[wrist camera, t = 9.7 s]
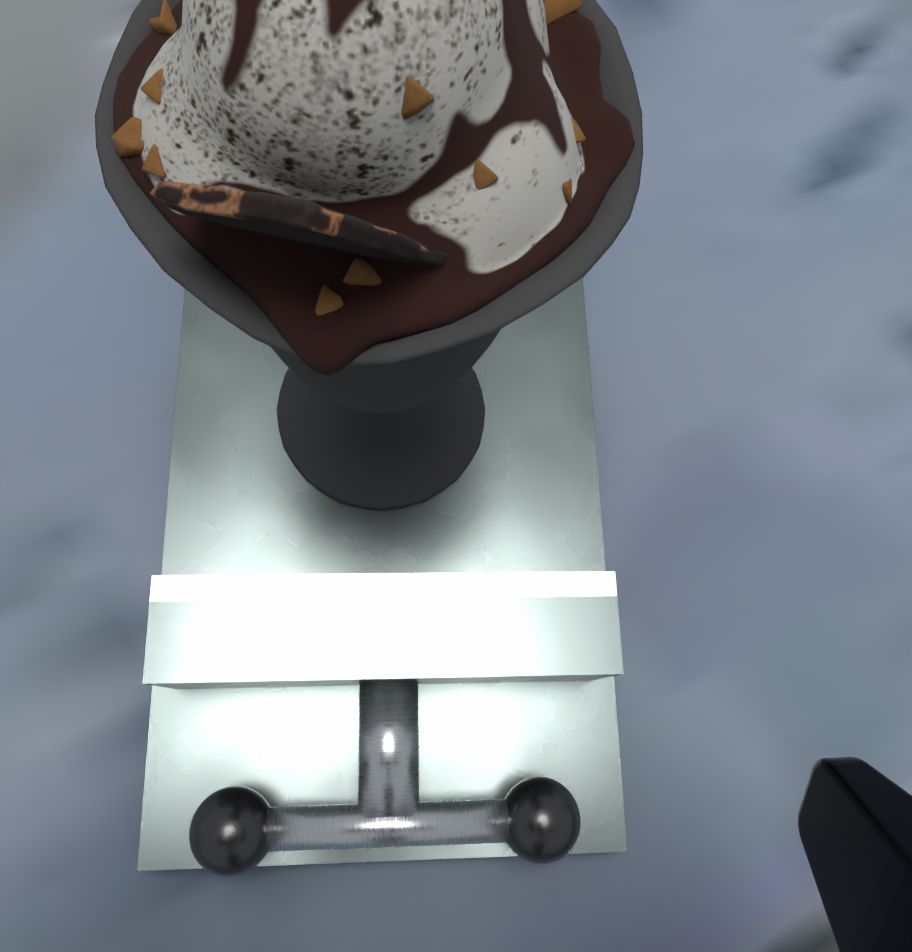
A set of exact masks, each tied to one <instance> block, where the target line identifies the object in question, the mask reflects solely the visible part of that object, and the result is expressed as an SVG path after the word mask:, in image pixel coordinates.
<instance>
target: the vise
mask: <svg viewBox="0 0 912 952" xmlns="http://www.w3.org/2000/svg"><path fill="white" fill-rule="evenodd" d="M472 368H473V369H474V371H475V372H476V375H477V378H478V381H479V384H480V387H481V390H482V394H483V399H484V405H485V419H484V429H483V433H482V437H481V442H480V446H479V448H478V450H477V452H476V453H475V455H474V457H473V459H472V460H471V462H470V464H469V465H468V467H467V468H466V469H465V471H464V472H463V473H462V475H461V476H460V477H459V479H458V480H456V481H455V482H454V483H452V484H451V485H450V486H448V487H447V488H446V489H445V490H443V491H442V492H440V493H438V494H437V495H435V496H433V497H432V498H430V499H428V500H426V501H425V502H422V503H418V504H414V505H411V506H407V507H403V508H396V509H389V510H376V509H367V508H360V507H356V506H352V505H348V504H344V503H341V502H339V501H337V500H335V499H333V498H331V497H330V496H328V495H326V494H324V493H322V492H321V491H320V490H318V489H317V488H316V487H314V486H313V485H311V484H310V483H309V482H307V481H306V480H305V479H304V477H303V476H302V475H301V474H300V472H299V471H298V470H297V469H296V467H295V466H294V465H293V463H292V461H291V460H290V458H289V456H288V455H287V453H286V451H285V450H284V448H283V444H282V440H281V436H280V432H279V428H278V419H277V411H276V409H277V404H278V398H279V392H280V389H281V385H282V382H283V379H284V376H285V373H286V371H287V370H288V367H287V366H286V364H285V363H284V362H283V361H282V360H281V359H280V358H279V356H278V355H277V354H276V353H275V352H274V350H273V349H272V348H271V347H270V346H269V345H267V344H264V343H262V342H260V341H257V340H255V339H253V338H252V337H250V336H249V335H247V334H246V333H244V332H243V331H241V330H240V329H239V328H237V327H236V326H234V325H233V324H231V323H230V322H228V321H227V320H225V319H224V318H222V317H221V316H219V315H218V314H217V313H215V312H214V311H212V310H211V309H209V308H208V307H207V306H206V305H204V304H203V303H202V302H201V301H200V300H198V299H197V298H196V297H195V296H193V295H192V294H191V293H190V292H189V291H187V290H186V289H185V293H184V305H183V317H182V329H181V342H180V354H179V366H178V378H177V391H176V403H175V415H174V427H173V439H172V452H171V464H170V476H169V488H168V500H167V513H166V525H165V537H164V549H163V562H162V574H161V575H152V580H151V591H150V603H149V615H148V627H147V638H146V650H145V662H144V673H143V684H147V685H152V696H151V708H150V720H149V733H148V745H147V757H146V769H145V781H144V794H143V806H142V818H141V830H140V842H139V855H138V867H137V871H151V870H176V869H201V868H204V869H206V870H207V871H209V872H211V873H213V874H216V875H219V876H236V875H240V874H243V873H245V872H247V871H249V870H251V869H252V868H254V867H255V866H278V865H303V864H328V863H354V862H379V861H405V860H430V859H455V858H481V857H506V856H519V857H521V858H523V859H525V860H527V861H529V862H532V863H537V864H546V863H551V862H554V861H557V860H559V859H561V858H562V857H564V856H565V855H566V854H582V853H608V852H627V839H626V826H625V813H624V800H623V788H622V775H621V762H620V749H619V736H618V723H617V711H616V698H615V685H614V676H617V675H621V674H623V662H622V650H621V638H620V625H619V613H618V601H617V588H616V576H615V571H606V569H605V557H604V544H603V531H602V518H601V505H600V492H599V480H598V467H597V454H596V441H595V428H594V415H593V403H592V390H591V377H590V364H589V351H588V338H587V326H586V313H585V300H584V287H583V278H581V279H580V280H578V281H577V282H575V283H574V284H572V285H571V286H570V287H568V288H567V289H565V290H564V291H562V292H561V293H559V294H558V295H557V296H555V297H554V298H552V299H551V300H549V301H548V302H546V303H545V304H543V305H542V306H540V307H538V308H537V309H535V310H533V311H531V312H530V313H528V314H526V315H524V316H523V317H521V318H519V319H517V320H515V321H514V322H512V323H510V324H508V325H507V326H505V327H503V328H501V330H500V331H499V333H498V335H497V336H496V338H495V339H494V341H493V342H492V343H491V345H490V346H489V348H488V349H487V350H486V351H485V352H484V354H483V355H482V356H481V357H480V358H479V360H478V361H477V362H476V363H475V364H474V366H473V367H472Z"/></svg>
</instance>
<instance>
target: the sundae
mask: <svg viewBox="0 0 912 952" xmlns="http://www.w3.org/2000/svg"><path fill="white" fill-rule="evenodd" d="M95 130H96V148H97V152H98V157H99V161H100V166H101V170H102V174H103V179H104V183H105V187H106V189H107V190H108V192H109V194H110V195H111V197H112V199H113V200H114V202H115V204H116V205H117V207H118V209H119V211H120V212H121V214H122V216H123V217H124V219H125V221H126V222H127V224H128V226H129V227H130V229H131V230H132V231H133V233H134V234H135V235H136V236H137V238H138V239H139V240H140V241H141V243H142V244H143V245H144V247H145V248H146V249H147V250H148V252H149V253H150V254H151V256H152V257H153V258H154V259H155V261H156V262H157V263H158V264H159V266H160V267H161V268H162V270H163V271H164V272H166V273H167V274H168V275H169V276H170V277H172V278H173V279H174V280H175V281H176V282H178V283H179V284H180V285H181V286H183V287H184V288H185V289H186V290H187V291H189V292H190V293H191V294H192V295H193V296H195V297H196V298H197V299H198V300H200V301H201V302H202V303H203V304H204V305H206V306H207V307H208V308H209V309H211V310H212V311H214V312H215V313H217V314H218V315H219V316H221V317H222V318H224V319H225V320H227V321H228V322H230V323H231V324H233V325H234V326H236V327H237V328H239V329H240V330H241V331H243V332H244V333H246V334H247V335H249V336H250V337H252V338H253V339H255V340H257V341H260V342H262V343H264V344H267V345H269V346H270V347H271V348H272V349H273V350H274V352H275V353H276V354H277V355H278V356H279V358H280V359H281V360H282V361H283V362H284V363H285V364H286V366H287V367H288V370H287V371H286V373H285V376H284V379H283V382H282V385H281V389H280V392H279V398H278V404H277V409H276V411H277V419H278V428H279V432H280V436H281V440H282V444H283V448H284V450H285V451H286V453H287V455H288V456H289V458H290V460H291V461H292V463H293V465H294V466H295V467H296V469H297V470H298V471H299V472H300V474H301V475H302V476H303V477H304V479H305V480H306V481H307V482H309V483H310V484H311V485H313V486H314V487H316V488H317V489H318V490H320V491H321V492H322V493H324V494H326V495H328V496H330V497H331V498H333V499H335V500H337V501H339V502H341V503H344V504H348V505H352V506H356V507H360V508H367V509H376V510H389V509H396V508H403V507H407V506H411V505H414V504H418V503H422V502H425V501H426V500H428V499H430V498H432V497H433V496H435V495H437V494H438V493H440V492H442V491H443V490H445V489H446V488H447V487H448V486H450V485H451V484H452V483H454V482H455V481H456V480H458V479H459V477H460V476H461V475H462V473H463V472H464V471H465V469H466V468H467V467H468V465H469V464H470V462H471V460H472V459H473V457H474V455H475V453H476V452H477V450H478V448H479V446H480V442H481V437H482V433H483V429H484V419H485V405H484V399H483V394H482V390H481V387H480V384H479V381H478V378H477V375H476V372H475V371H474V369H473V368H472V367H473V366H474V364H475V363H476V362H477V361H478V360H479V358H480V357H481V356H482V355H483V354H484V352H485V351H486V350H487V349H488V348H489V346H490V345H491V343H492V342H493V341H494V339H495V338H496V336H497V335H498V333H499V331H500V330H501V328H503V327H505V326H507V325H508V324H510V323H512V322H514V321H515V320H517V319H519V318H521V317H523V316H524V315H526V314H528V313H530V312H531V311H533V310H535V309H537V308H538V307H540V306H542V305H543V304H545V303H546V302H548V301H549V300H551V299H552V298H554V297H555V296H557V295H558V294H559V293H561V292H562V291H564V290H565V289H567V288H568V287H570V286H571V285H572V284H574V283H575V282H577V281H578V280H580V279H581V278H583V277H584V276H585V275H586V274H587V272H588V271H589V270H590V269H591V268H592V267H593V266H594V264H595V263H596V262H597V261H598V260H599V259H600V258H601V257H602V255H603V254H604V253H605V252H606V251H607V250H608V249H609V247H610V246H611V245H612V244H613V242H614V241H615V239H616V238H617V236H618V235H619V233H620V232H621V230H622V229H623V227H624V226H625V224H626V223H627V221H628V220H629V218H630V216H631V213H632V209H633V206H634V203H635V199H636V196H637V193H638V189H639V185H640V176H641V167H642V158H643V135H642V111H641V107H640V102H639V98H638V93H637V89H636V84H635V80H634V76H633V72H632V69H631V66H630V64H629V61H628V58H627V56H626V53H625V50H624V48H623V45H622V42H621V40H620V37H619V34H618V31H617V29H616V27H615V26H614V24H613V23H612V22H611V20H610V19H609V18H608V16H607V15H606V14H605V12H604V11H603V10H602V8H601V7H600V6H599V4H598V3H597V2H596V0H141V2H140V3H139V5H138V6H137V7H136V9H135V10H134V12H133V13H132V15H131V17H130V19H129V22H128V24H127V26H126V28H125V30H124V32H123V35H122V37H121V39H120V41H119V43H118V46H117V48H116V50H115V52H114V55H113V58H112V60H111V63H110V66H109V69H108V71H107V74H106V77H105V80H104V82H103V86H102V89H101V93H100V97H99V101H98V105H97V109H96V113H95Z"/></svg>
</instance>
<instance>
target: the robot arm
mask: <svg viewBox="0 0 912 952" xmlns="http://www.w3.org/2000/svg"><path fill="white" fill-rule="evenodd" d="M798 827H799V833H800V837H801V840H802V843H803V846H804V849H805V852H806V855H807V858H808V861H809V864H810V867H811V870H812V873H813V876H814V879H815V882H816V885H817V887H818V890H819V893H820V896H821V899H822V902H823V905H824V908H825V911H826V914H827V917H828V920H829V923H830V926H831V929H832V932H833V935H834V938H835V941H836V943H837V946H838V949H839V952H912V796H911V795H910V794H909V793H907V792H906V791H905V790H903V789H902V788H900V787H899V786H898V785H896V784H895V783H894V782H892V781H891V780H890V779H888V778H887V777H885V776H884V775H883V774H881V773H880V772H879V771H877V770H876V769H875V768H873V767H872V766H870V765H869V764H868V763H866V762H864V761H863V760H861V759H858V758H854V757H841V758H823V759H820V760H819V761H818V762H816V763H815V764H814V766H813V769H812V772H811V775H810V778H809V781H808V784H807V787H806V791H805V794H804V797H803V800H802V803H801V806H800V809H799V814H798Z"/></svg>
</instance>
